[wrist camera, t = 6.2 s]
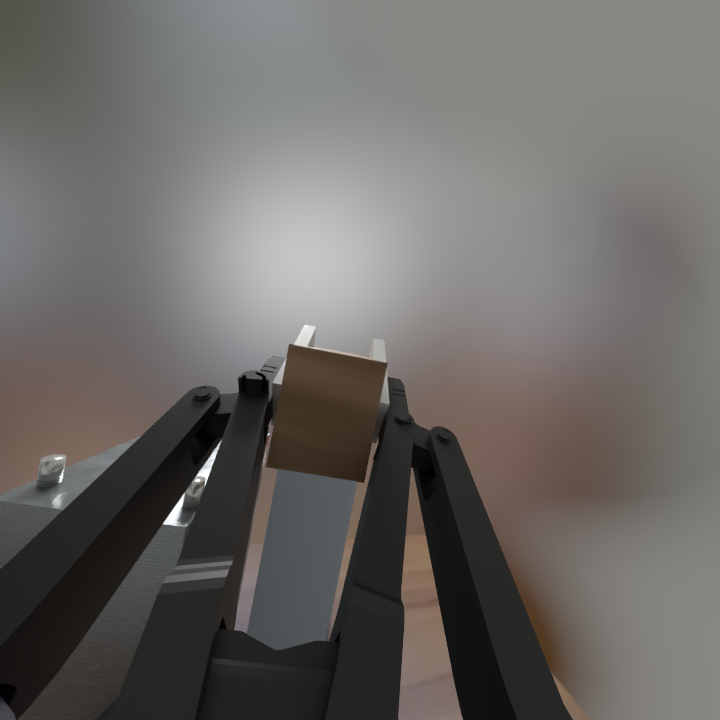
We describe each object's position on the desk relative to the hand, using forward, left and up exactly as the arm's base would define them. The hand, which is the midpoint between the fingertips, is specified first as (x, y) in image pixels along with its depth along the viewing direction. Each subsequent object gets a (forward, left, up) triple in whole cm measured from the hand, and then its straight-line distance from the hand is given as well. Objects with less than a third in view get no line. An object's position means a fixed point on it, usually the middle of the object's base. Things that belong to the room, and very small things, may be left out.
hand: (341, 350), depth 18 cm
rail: (0, +6, -5) cm, 8 cm away
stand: (0, +11, -35) cm, 37 cm away
